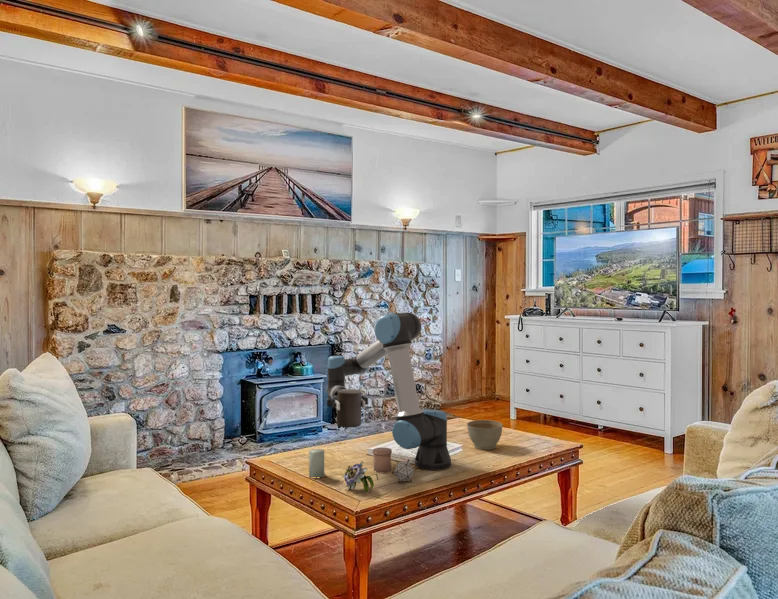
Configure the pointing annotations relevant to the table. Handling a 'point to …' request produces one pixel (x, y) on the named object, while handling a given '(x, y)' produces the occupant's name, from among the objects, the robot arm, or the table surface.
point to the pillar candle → (349, 408)
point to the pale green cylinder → (316, 463)
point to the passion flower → (358, 476)
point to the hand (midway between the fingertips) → (351, 405)
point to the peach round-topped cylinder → (382, 459)
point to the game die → (404, 471)
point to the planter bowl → (484, 433)
